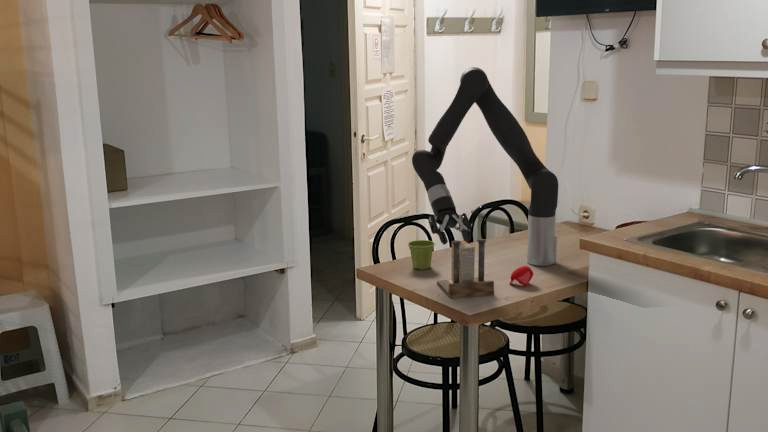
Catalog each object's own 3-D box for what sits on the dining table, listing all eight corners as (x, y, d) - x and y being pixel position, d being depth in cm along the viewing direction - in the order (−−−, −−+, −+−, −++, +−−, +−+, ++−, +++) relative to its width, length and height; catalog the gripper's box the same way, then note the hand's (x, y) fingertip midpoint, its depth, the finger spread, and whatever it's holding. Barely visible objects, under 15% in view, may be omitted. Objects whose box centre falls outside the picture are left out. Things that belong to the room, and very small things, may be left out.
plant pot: (410, 272, 257) (410, 247, 256) (405, 264, 267) (405, 240, 265) (437, 270, 259) (437, 245, 257) (431, 263, 268) (431, 239, 266)
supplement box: (450, 281, 242) (450, 241, 239) (464, 279, 244) (464, 240, 241) (460, 288, 234) (460, 247, 232) (474, 286, 236) (475, 246, 233)
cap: (534, 271, 245) (518, 261, 245) (537, 270, 239) (521, 260, 239) (521, 292, 244) (505, 282, 244) (524, 292, 238) (508, 281, 238)
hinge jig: (478, 280, 246) (478, 230, 243) (494, 294, 232) (494, 241, 228) (436, 284, 244) (436, 233, 240) (450, 298, 229) (450, 245, 226)
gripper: (427, 195, 247) (443, 238, 240) (463, 194, 254) (480, 235, 247) (418, 207, 253) (433, 249, 246) (454, 206, 260) (469, 247, 252)
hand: (456, 242), depth 246 cm, fingers open, 8 cm apart
